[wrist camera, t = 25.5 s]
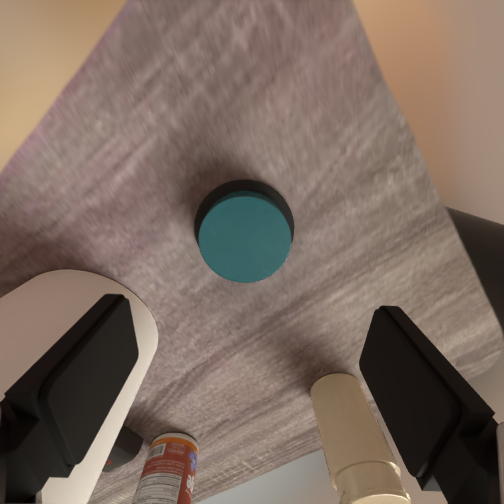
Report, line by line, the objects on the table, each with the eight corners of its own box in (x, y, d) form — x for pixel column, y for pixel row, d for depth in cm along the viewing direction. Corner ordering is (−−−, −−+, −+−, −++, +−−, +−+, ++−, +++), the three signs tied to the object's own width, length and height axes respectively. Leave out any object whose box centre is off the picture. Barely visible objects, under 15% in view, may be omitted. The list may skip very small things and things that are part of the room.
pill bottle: (194, 461, 33) (170, 599, 23) (148, 453, 33) (103, 593, 22) (204, 435, 31) (183, 576, 21) (156, 426, 30) (109, 569, 20)
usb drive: (116, 453, 32) (105, 479, 30) (37, 406, 28) (17, 431, 26) (144, 439, 31) (135, 465, 29) (65, 388, 27) (47, 413, 25)
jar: (364, 372, 27) (425, 491, 18) (356, 406, 29) (405, 527, 20) (312, 373, 27) (345, 493, 18) (308, 407, 29) (335, 528, 20)
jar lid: (269, 278, 21) (272, 293, 19) (195, 257, 20) (189, 270, 18) (299, 206, 19) (306, 213, 17) (215, 178, 18) (211, 182, 16)
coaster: (299, 181, 18) (300, 182, 18) (287, 274, 22) (288, 277, 21) (192, 177, 18) (191, 177, 18) (197, 271, 21) (196, 273, 21)
